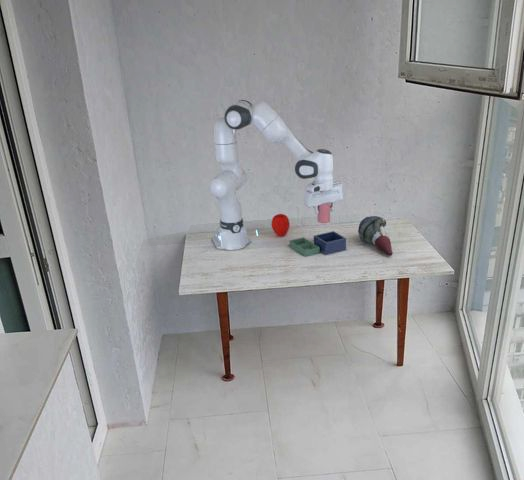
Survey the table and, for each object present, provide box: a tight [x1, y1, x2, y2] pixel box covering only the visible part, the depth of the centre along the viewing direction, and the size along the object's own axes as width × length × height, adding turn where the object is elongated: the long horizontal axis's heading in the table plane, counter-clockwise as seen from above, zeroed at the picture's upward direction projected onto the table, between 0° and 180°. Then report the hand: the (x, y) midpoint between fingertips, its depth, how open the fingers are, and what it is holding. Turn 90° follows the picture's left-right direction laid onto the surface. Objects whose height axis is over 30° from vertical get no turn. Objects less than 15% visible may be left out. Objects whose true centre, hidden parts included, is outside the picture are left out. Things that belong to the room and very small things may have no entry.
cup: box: [316, 203, 331, 224], centre depth 278 cm, size 6×6×10 cm
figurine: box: [357, 215, 394, 257], centre depth 288 cm, size 29×17×15 cm
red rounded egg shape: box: [270, 213, 290, 238], centre depth 305 cm, size 10×10×12 cm
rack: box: [289, 237, 321, 257], centre depth 290 cm, size 16×8×3 cm, turn 26°
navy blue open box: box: [313, 230, 347, 256], centre depth 288 cm, size 12×12×6 cm
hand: (323, 212), depth 278 cm, fingers closed on cup, 6 cm apart
